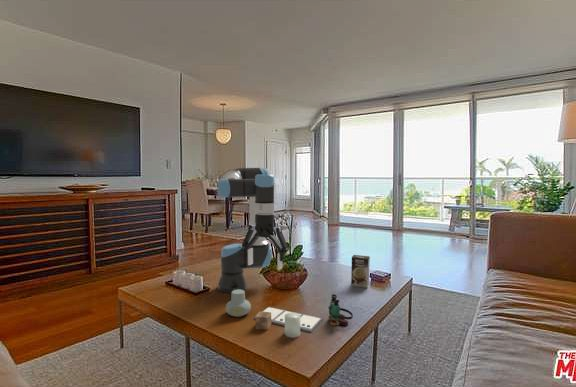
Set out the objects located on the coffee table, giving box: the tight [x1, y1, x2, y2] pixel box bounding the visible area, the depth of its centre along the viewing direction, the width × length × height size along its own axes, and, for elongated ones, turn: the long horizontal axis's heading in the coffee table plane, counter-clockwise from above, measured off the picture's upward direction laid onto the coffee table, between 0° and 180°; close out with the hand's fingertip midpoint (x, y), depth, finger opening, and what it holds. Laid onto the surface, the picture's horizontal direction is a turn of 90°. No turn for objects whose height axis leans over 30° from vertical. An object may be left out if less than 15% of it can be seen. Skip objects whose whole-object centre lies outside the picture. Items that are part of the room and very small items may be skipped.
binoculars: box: [327, 293, 354, 327], centre depth 133 cm, size 9×11×10 cm
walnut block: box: [255, 310, 272, 331], centre depth 129 cm, size 5×5×5 cm
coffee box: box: [350, 254, 371, 289], centre depth 177 cm, size 9×6×16 cm
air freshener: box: [225, 289, 252, 318], centre depth 140 cm, size 11×8×10 cm
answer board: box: [253, 306, 323, 333], centre depth 135 cm, size 26×12×1 cm, turn 63°
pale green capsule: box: [284, 312, 301, 339], centre depth 123 cm, size 6×6×7 cm
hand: (264, 266), depth 128 cm, fingers open, 13 cm apart
